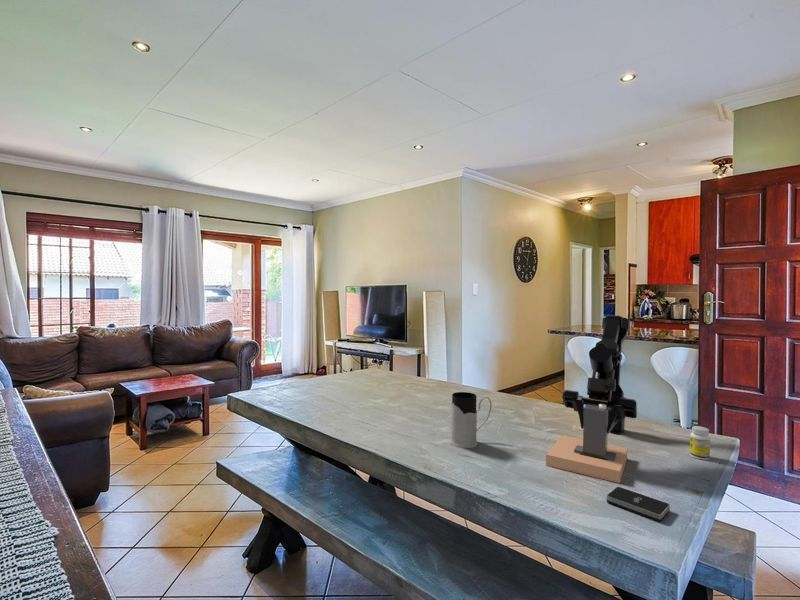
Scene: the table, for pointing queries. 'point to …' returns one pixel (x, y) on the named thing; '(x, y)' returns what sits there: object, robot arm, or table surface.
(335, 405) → the table surface
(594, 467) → the plate
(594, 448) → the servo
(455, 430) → the grey mug
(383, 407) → the table surface
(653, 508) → the external hard drive
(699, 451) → the supplement bottle
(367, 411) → the table surface
